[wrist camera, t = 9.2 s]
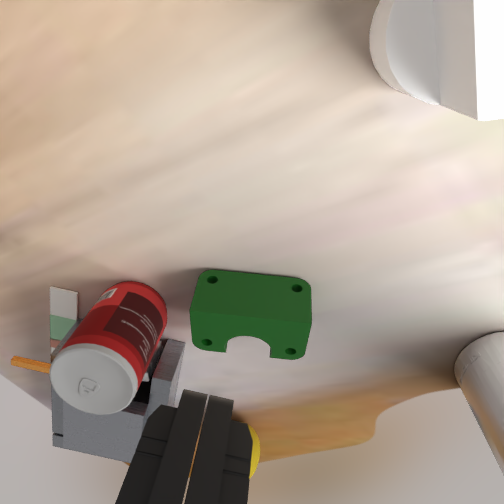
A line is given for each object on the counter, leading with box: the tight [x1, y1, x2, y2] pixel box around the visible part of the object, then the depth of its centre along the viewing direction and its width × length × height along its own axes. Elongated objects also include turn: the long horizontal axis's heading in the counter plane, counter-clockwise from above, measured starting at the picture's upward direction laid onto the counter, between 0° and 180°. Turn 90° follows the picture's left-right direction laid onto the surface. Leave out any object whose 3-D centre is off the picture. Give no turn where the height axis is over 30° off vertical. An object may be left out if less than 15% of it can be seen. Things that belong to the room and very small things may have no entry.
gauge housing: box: [51, 318, 185, 463], centre depth 46 cm, size 12×14×8 cm
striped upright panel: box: [50, 286, 78, 353], centre depth 46 cm, size 3×11×1 cm, turn 167°
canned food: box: [49, 281, 167, 415], centre depth 39 cm, size 8×8×11 cm
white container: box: [369, 0, 504, 121], centre depth 25 cm, size 9×9×12 cm
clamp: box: [190, 270, 312, 360], centre depth 40 cm, size 12×6×9 cm, turn 80°
